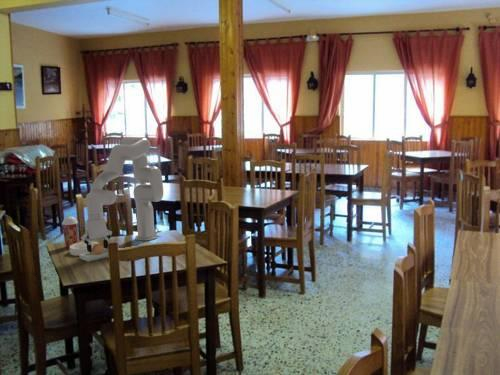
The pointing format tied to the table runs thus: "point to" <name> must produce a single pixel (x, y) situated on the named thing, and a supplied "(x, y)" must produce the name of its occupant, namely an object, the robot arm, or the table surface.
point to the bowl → (80, 248)
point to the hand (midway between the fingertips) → (97, 249)
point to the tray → (93, 256)
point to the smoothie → (70, 230)
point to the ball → (97, 249)
